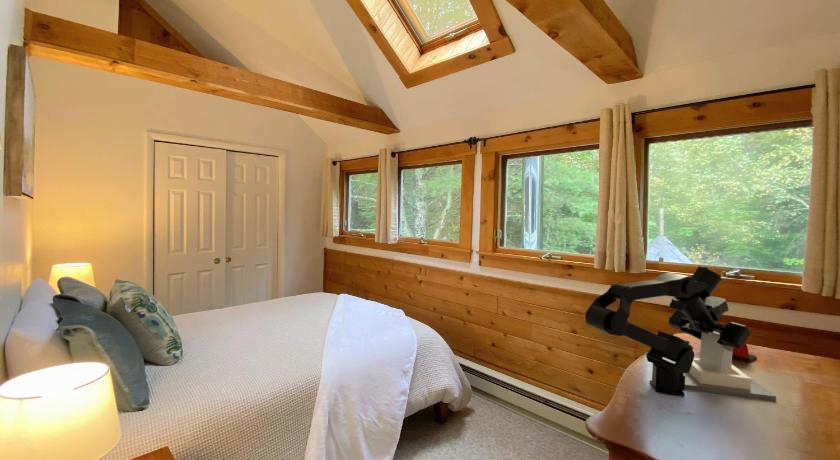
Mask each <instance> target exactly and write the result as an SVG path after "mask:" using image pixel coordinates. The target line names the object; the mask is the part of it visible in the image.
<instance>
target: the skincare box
mask: <svg viewBox="0 0 840 460" xmlns="http://www.w3.org/2000/svg"><path fill="white" fill-rule="evenodd" d="M719 338H720V334H719V333H718V332H715V331H713V333H708V334H706V333H702V332H701V340H700V347H699V348H700V349H699V351H700V352H699V359H700V363H699V366H700V367H701V368H702V369H703V370H704V371H709V372H717V373H725V374H731V367H732V365H733V359H732V351H733V350H732V351H730V350H728V349H726V348H725V347H723V346H721V345H720V344H718V343H717V341H718V340H719Z"/></svg>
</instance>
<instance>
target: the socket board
mask: <svg viewBox="0 0 840 460" xmlns="http://www.w3.org/2000/svg"><path fill="white" fill-rule="evenodd" d="M673 363H674V364H675V363H676V362H673ZM699 363H700V358H697V357H694V359H693V362H692V366H691V369H690V372H689V373H683V375H684V376H685V390H690V391H691V390H692V391H698V392H707V393H714V394H720V395H727V396H735V397H741V398H742V397H743V398H749V399H750V398H751V399H756V400H757V399H758V400H765V401H773V402H777V396H776V395H775V394H774V393H772V392H771V391H770V390H768V389H767V388H765V387H764V386H763V385H761V383H758V382H757V381H756V380H754V379H753V378H752V377H750V376H749V375H747V374H746V373H745V372H744V371H743V370H740V369H739V368H737V367H736V366H735V365H734V364H732V367H731V374H725V373H717V372H709V371H704V370H703V369H702V368H701V367H700V366H699Z"/></svg>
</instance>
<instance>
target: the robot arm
mask: <svg viewBox="0 0 840 460" xmlns="http://www.w3.org/2000/svg"><path fill="white" fill-rule="evenodd" d="M722 280H723V278H722V277H721V276H720V274H717V273H716V272H714V271H712V270H710V269H709V268H708V267H707V266H701V265H700V266H698V267H697V268H696V270H695V272H693V274H692V275H691V276H690V275H684V274H678V273H671V272H665V273H662V274H659V275H657V276H656V278H654V279H647V280H641V281H635V282H625V283H621V284H620V283H613V284H611V285H610V287H609V288H608V289H607V291H606V292H604V293H603V294H601V295H599V296H598V297H596V298H595V299H594V300H593V302H592V303H591V305H590V306H589V307H588V308H587V310H586V312H585V316H584V317H585V323H586V324H587V325H588V326H590V327H592V328H593V329H596V330H599V331H601V332H604V333H606V334H609V335H610V336H615V337H616V336H617V337H622V336H623V337H626V338H628V339H630V340H632V341H635V342H636V343H639V344H642V345H645V346H646V347H648V348H650V350H649V351H648V352H647V353H646V354H645V356H646V360H647V361H646V362H648V363H651V364H652V373H651V374H652V375H651V379H650V380H649V384H650V383H651V384H650V385H651V387H652V388H653V390H655V392H656V393H659V394H667V395H674V396H680V397H681V396H682V397H685V396H686V394H685V392H684V391H685V390H686V389H685V376H684V375H683V373H689V372H690V369H691V366H692V362H693V359H694V358H695V352H694V348H693V346H692V345H691V344H690V342H691V341H689V340H685V339H683V338H681V337H679V336H677V335H674V334H671V333H668V332H665V331H662V330H657V334H656V333H654V332H651V331H649V330H646V329H645V328H642V327H640V326H638V325H635V324H633V323H631V322H630V321H629V320H628V319H629V317H630V316H631V304H632V303H633V302H634V301H638V300H646V299H652V298H659V297H673V298H672V299H671V302H670V303H669V309H672V310H674V312H673V313H672V314H671V315H670V317H668V324H669V326H670V327H671V328H673V329H676V330H679V331H681V332H683V333H685V334H687V335H689V336H691V337H694V338H696V339H698V340H700V341H701V332H702V333H706V334H708V333H713V331H715V332H718V333H719V334H720V338H719V340H718V341H717V343H718V344H720V345H721V346H723V347H725V348H726V349H728V350H730V351H732V350H733V349H734V348H741V347H742V345H743V344H744V343H746V341H747V340H748V338H749V337H750V336H751V335H752V332H751V330H750V328H749V326H747V325H745V324H741V323H737V322H733V321H730V322H728V323H725V324H723V323H719V322H720V321H721V320H722V317H721V316H722V315H724V313H727V312H728V311H730V310H729V306H728V301H727V299H725V298H723V297H718V296H713V295H712V294H713V293H714V292H715V290H716V289H717V288H718V286H719V285H720V284H721V283H722ZM617 300H618V301H619V307H618V309H617V310H614V309H613V310H612V309H609V308H607V307H609V306H610V305H611V304H613V303H615V302H616V301H617ZM666 359H667V360H666ZM674 363H675V364H674Z"/></svg>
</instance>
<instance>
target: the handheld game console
mask: <svg viewBox="0 0 840 460" xmlns="http://www.w3.org/2000/svg"><path fill="white" fill-rule="evenodd" d="M732 358H733V359H734V360H736V359H737V360H736V361H739V362H744V363H746V364H747V363H748V364H749V363H751V362H753V361H755V360H757V356H756V355H754V354H751V353H749V348H748V345H747V343H746V342H744V344H743V345H742V347H741V348H734V349H733V351H732ZM733 359H732V360H733Z"/></svg>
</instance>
